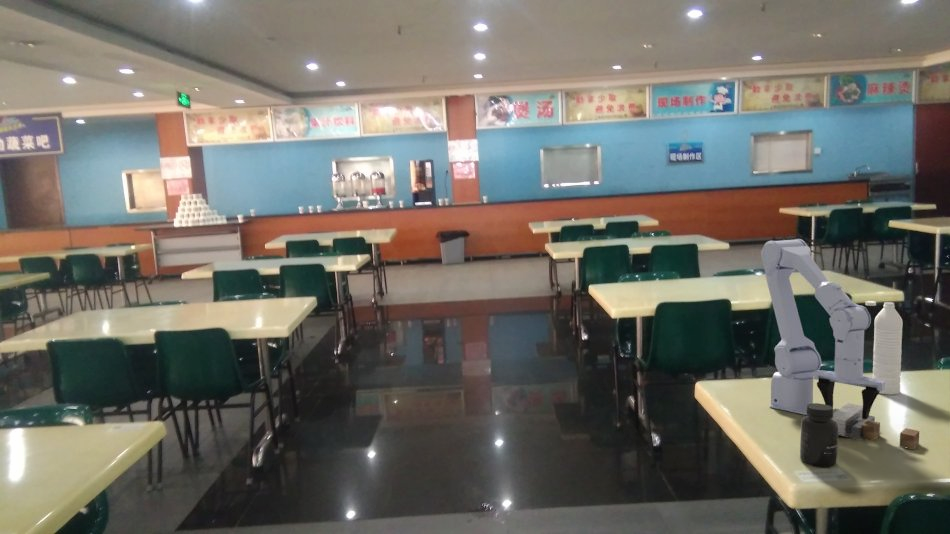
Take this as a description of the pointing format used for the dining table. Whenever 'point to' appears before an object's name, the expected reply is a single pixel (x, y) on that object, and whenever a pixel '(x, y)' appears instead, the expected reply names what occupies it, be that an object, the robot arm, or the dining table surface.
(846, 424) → the grey rectangular bar
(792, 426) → the dining table surface
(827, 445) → the supplement bottle
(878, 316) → the water bottle
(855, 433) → the block
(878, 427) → the wooden blocks
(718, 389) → the dining table surface
